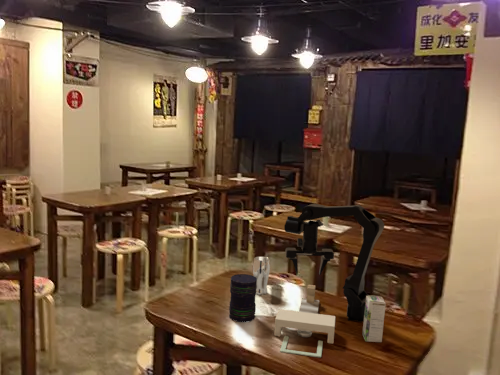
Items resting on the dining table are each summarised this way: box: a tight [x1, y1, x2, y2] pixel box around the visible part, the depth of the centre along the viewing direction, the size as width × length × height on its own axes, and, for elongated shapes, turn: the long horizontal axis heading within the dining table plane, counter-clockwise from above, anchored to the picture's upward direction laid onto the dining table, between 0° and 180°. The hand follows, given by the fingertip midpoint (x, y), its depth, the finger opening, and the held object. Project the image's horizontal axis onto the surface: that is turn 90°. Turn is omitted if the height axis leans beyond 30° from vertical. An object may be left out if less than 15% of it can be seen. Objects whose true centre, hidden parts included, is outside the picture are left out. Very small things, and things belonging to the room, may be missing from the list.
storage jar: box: [228, 273, 257, 323], centre depth 177 cm, size 10×10×15 cm
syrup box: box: [362, 295, 387, 343], centre depth 164 cm, size 6×6×14 cm
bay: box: [279, 335, 324, 359], centre depth 156 cm, size 13×11×1 cm
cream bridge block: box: [273, 308, 336, 344], centre depth 166 cm, size 20×9×6 cm, turn 79°
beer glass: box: [252, 256, 271, 296], centre depth 203 cm, size 7×7×15 cm
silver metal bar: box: [298, 284, 320, 314], centre depth 184 cm, size 24×7×8 cm, turn 169°
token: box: [296, 329, 313, 338], centre depth 166 cm, size 5×5×2 cm
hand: (308, 274), depth 191 cm, fingers open, 9 cm apart
